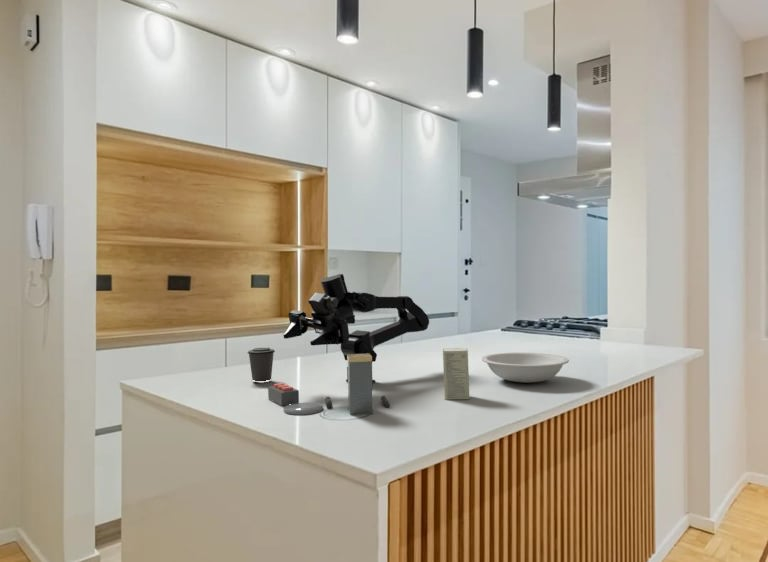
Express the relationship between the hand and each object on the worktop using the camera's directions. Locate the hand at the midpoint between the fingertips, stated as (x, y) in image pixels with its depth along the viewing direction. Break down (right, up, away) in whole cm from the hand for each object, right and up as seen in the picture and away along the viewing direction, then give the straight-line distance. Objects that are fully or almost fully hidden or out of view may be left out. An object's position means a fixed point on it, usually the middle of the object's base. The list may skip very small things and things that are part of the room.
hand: (297, 340), depth 133 cm
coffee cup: (-14, -15, +22) cm, 30 cm away
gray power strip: (-3, -15, -4) cm, 15 cm away
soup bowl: (+62, -14, +16) cm, 66 cm away
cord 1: (+9, -15, -8) cm, 19 cm away
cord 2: (+22, -14, -8) cm, 28 cm away
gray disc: (+3, -15, -13) cm, 20 cm away
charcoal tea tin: (+17, -14, -15) cm, 27 cm away
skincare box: (+40, -14, -3) cm, 43 cm away
